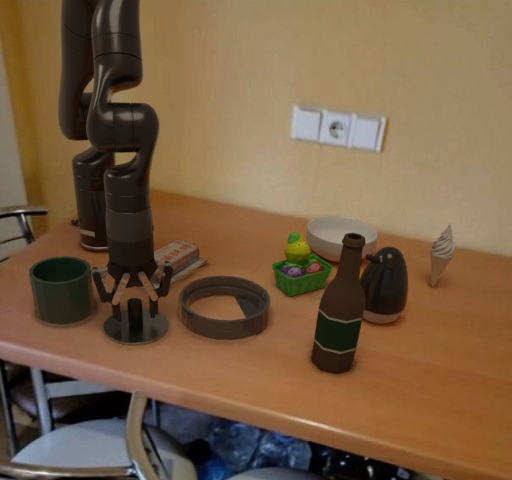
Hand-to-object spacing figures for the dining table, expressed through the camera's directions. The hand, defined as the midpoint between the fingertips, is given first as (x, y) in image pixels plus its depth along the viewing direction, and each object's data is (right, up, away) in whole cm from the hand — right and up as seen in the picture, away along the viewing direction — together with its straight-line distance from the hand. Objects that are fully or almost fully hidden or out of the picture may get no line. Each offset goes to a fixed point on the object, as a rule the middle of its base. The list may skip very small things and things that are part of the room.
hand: (135, 317), depth 102 cm
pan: (+16, 0, +7) cm, 17 cm away
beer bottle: (+35, -8, -2) cm, 36 cm away
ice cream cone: (+61, +8, +24) cm, 66 cm away
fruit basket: (+31, +7, +20) cm, 37 cm away
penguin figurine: (+46, 0, +11) cm, 47 cm away
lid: (0, -2, +1) cm, 2 cm away
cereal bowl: (+42, +16, +33) cm, 56 cm away
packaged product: (+2, +10, +21) cm, 23 cm away
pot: (-14, +1, +5) cm, 15 cm away
